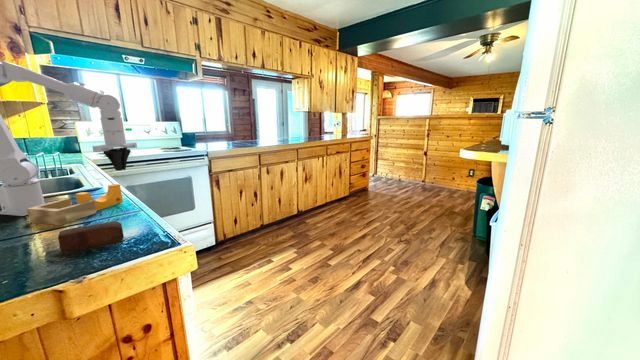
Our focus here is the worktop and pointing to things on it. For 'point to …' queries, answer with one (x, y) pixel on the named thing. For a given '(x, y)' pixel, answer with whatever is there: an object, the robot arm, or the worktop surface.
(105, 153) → the robot arm
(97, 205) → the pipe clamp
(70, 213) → the wooden open tray
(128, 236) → the worktop surface
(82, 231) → the brick
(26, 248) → the worktop surface
